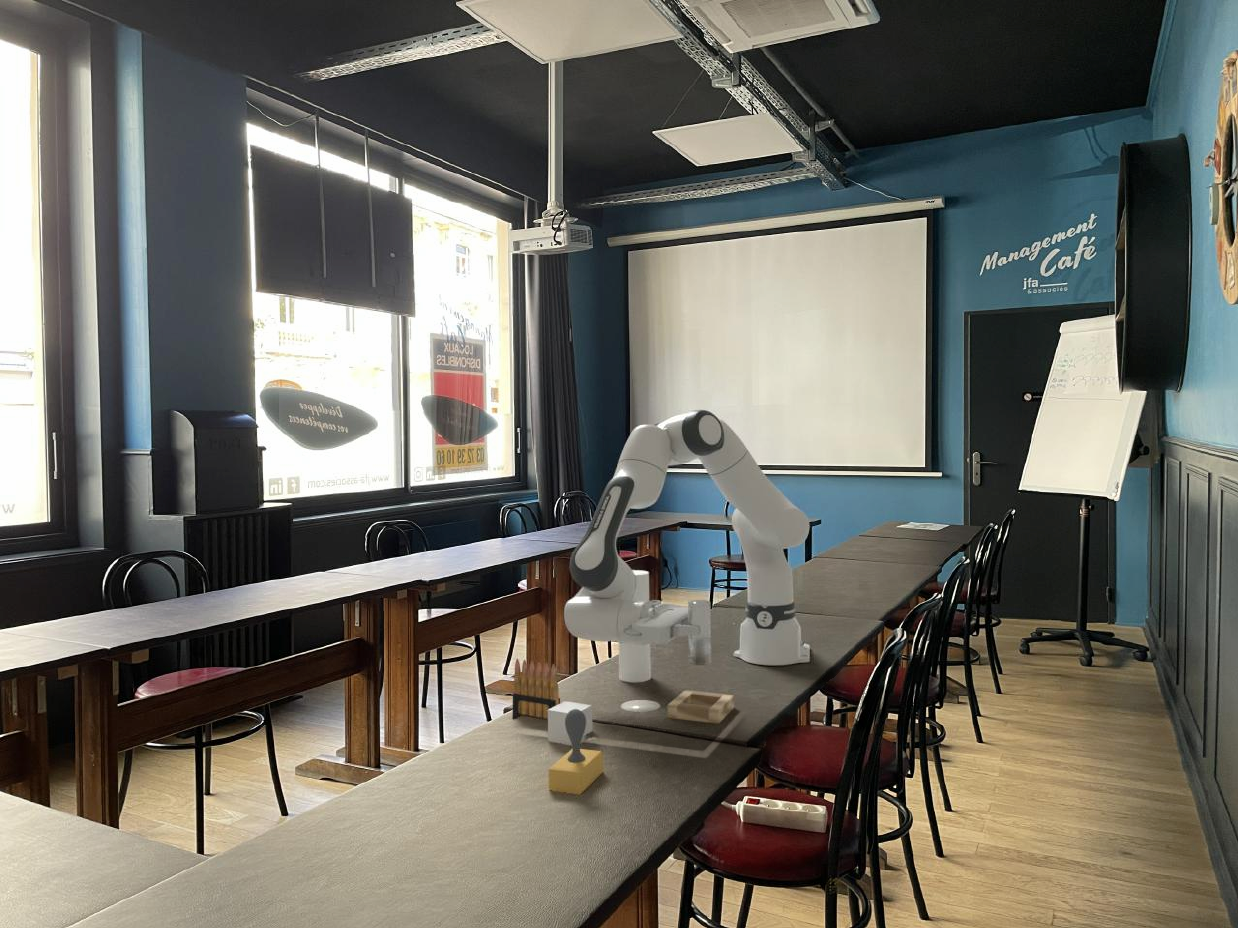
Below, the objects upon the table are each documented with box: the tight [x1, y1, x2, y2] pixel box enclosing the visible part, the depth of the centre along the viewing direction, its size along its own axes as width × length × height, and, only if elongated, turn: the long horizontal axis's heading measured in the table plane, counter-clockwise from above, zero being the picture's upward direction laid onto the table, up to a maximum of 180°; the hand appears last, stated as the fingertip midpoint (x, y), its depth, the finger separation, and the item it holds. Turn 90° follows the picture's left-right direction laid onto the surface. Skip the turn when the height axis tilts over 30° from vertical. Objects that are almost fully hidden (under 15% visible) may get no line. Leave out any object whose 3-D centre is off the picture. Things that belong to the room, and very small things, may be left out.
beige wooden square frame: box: [666, 690, 735, 724], centre depth 180 cm, size 10×10×4 cm
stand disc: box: [620, 699, 661, 713], centre depth 186 cm, size 8×8×1 cm
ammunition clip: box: [512, 658, 561, 721], centre depth 180 cm, size 11×2×12 cm, turn 60°
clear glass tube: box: [687, 599, 712, 666], centre depth 180 cm, size 4×4×12 cm
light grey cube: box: [547, 700, 593, 747], centre depth 170 cm, size 6×6×6 cm
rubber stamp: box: [547, 709, 604, 796], centre depth 149 cm, size 10×6×12 cm, turn 160°
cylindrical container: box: [618, 569, 652, 683], centre depth 206 cm, size 7×7×25 cm
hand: (703, 627), depth 179 cm, fingers closed on clear glass tube, 4 cm apart
